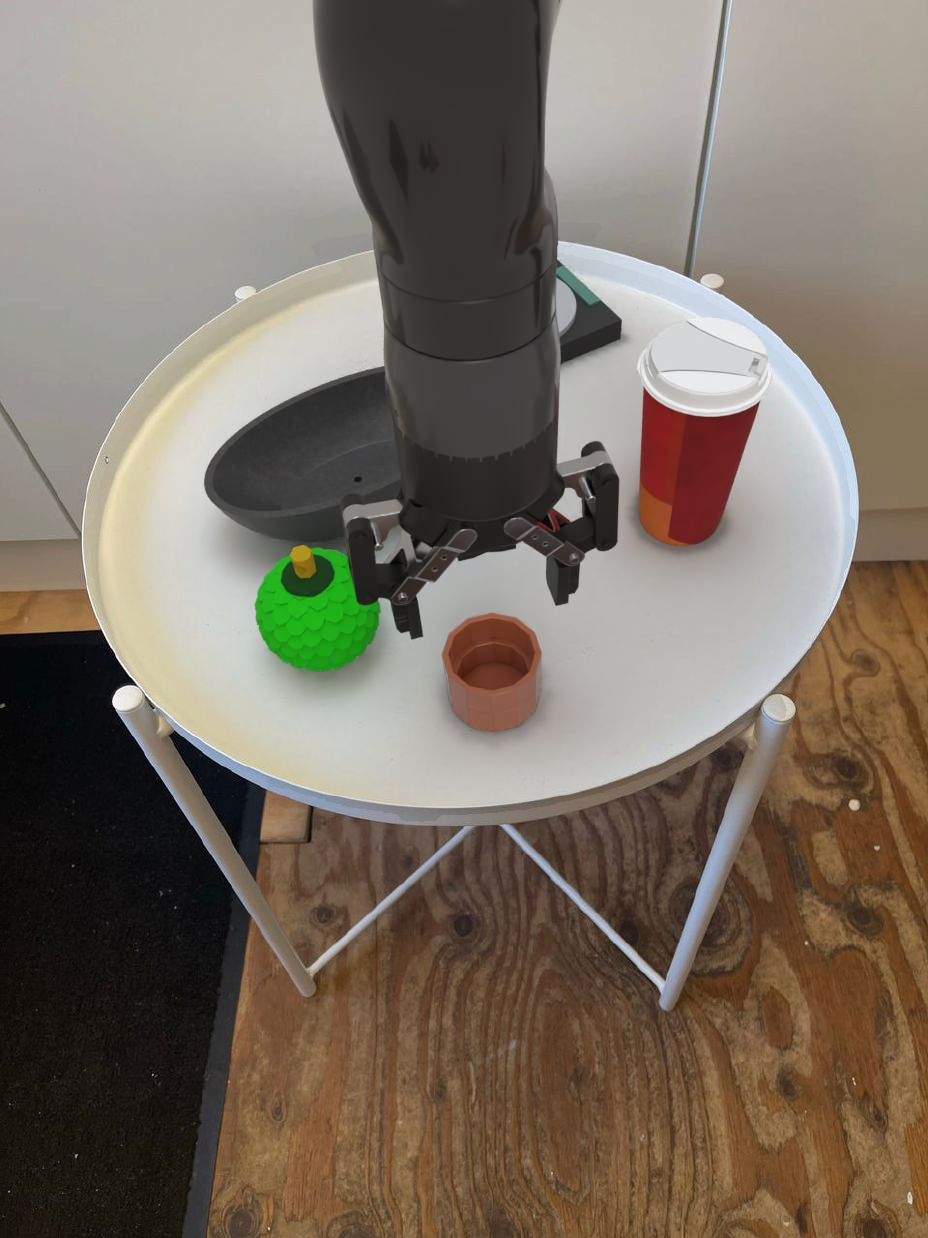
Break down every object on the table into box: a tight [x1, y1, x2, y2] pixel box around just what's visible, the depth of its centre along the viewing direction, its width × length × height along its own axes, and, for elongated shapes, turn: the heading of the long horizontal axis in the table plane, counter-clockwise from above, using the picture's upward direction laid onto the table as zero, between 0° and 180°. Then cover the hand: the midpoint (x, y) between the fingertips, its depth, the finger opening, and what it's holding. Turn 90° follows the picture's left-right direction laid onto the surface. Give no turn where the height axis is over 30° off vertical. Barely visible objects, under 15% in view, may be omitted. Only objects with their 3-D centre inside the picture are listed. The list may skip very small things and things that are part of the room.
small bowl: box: [441, 612, 543, 733], centre depth 62 cm, size 6×6×5 cm
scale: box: [556, 258, 623, 364], centre depth 85 cm, size 13×12×3 cm
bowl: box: [203, 365, 401, 543], centre depth 73 cm, size 12×22×6 cm, turn 120°
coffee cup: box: [636, 317, 773, 547], centre depth 66 cm, size 8×8×15 cm
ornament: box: [254, 544, 382, 673], centre depth 63 cm, size 8×8×10 cm
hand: (486, 609), depth 56 cm, fingers open, 8 cm apart
